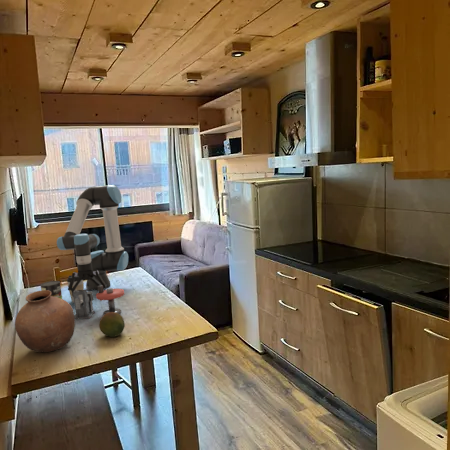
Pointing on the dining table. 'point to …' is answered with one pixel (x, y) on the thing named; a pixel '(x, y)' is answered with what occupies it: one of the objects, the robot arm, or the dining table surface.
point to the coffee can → (52, 288)
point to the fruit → (111, 324)
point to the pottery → (45, 322)
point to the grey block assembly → (86, 309)
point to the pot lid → (108, 293)
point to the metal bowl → (112, 307)
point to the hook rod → (80, 303)
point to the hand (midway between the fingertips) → (89, 301)
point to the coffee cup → (79, 287)
